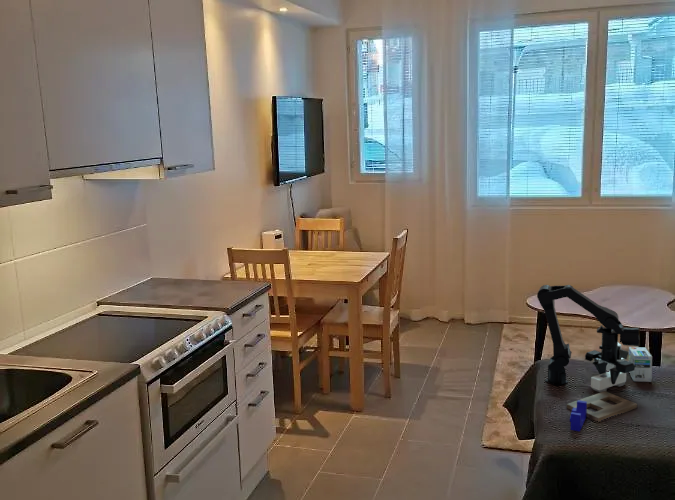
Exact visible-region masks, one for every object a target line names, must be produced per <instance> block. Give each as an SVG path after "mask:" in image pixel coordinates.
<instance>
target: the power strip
mask: <svg viewBox="0 0 675 500" xmlns="http://www.w3.org/2000/svg"><path fill="white" fill-rule="evenodd" d="M626 382H627V373H622V372H620V374H619V375H618V378H617V380H616V382H615V384H612V382H611V375H610V371H609V372H606V373H603V374H597V375H593V376H591V377H590V388H592V390H593V391H595V392H598V393H601V392H604V391H606V392H608V391H607V389H609V388H611V387H613V386H616V387H619V388H620V387H622V386H625V383H626Z"/></svg>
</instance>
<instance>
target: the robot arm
mask: <svg viewBox="0 0 675 500" xmlns="http://www.w3.org/2000/svg"><path fill="white" fill-rule="evenodd" d="M536 296H537V300H538V302H539V304H540V307H541V308H542V309H543V312H544V314H545V317H546V322H547V326H548V330H549V333H550V338H551V341H552V344H553V345H552V346H553V349H552V351H553V353H552V354H553V355H552V356H551V357H550V358H549V361H548V365H547V378H546V379H544V381H545V383H549V384H551V385H553V386H555V387H559V386H561V385H565V384H567V383H569V381H568V380H567V372H566V369H567V368H565V367H567V366H568V365H569V364H570V359H571V357H572V351H571V348H570V343H565V341H564V338H563V335H562V331H561V327H560V323H559V318H558V316H557V311H556V307H555V300H559V299H564V298H567V299H569V300H571V301H572V302H574V303H575V304H577V305H578V306H580V307H581V308H582V309H584V310H585V311H587V312H589V314H591V315H593V316H594V317H595V319H597V321H598V322H599V323H600V324H601V325H600V326H599V327H598V328H597V329H596V333H597V334H601V345H599V347H598V349H599V350H601V351H598V350H596V349H594V350H591V351H587V352H586V353H585V355H584V359H585V361H588V362H592V361H593V362H592V365H594V367H595V368H596V370H597V372H598V375H600V374H603V373H606V366H607V364H608V363H609V364H611V365H614V367H613V368H612V369H610V375H611V382H612V384H615V382H616V380H617V378H618V375H619V374H620V372H622V373H626V374H627V373H629V372H630V371H633V370H635V365H634V364H633V363H631V362H629V360H627V359H628V357H629V350H624V349H623V348H622V349H620V346H618V343H621V345H622V346H628V347H640V328H638V327H624V324H623V323H622V322H621V321H620V319H619V314H618V313H617V312H616V311H614V310H613V309H610V308H608V307H605V306H602V305H600V304H598V303H597V302H595V301H593V300H592V299H591V298H589V297H588V296H586V295H585V294H583V293H582V292H580V291H579V290H577V289H576V288H575V287H574V286H572V285H571V284H565V285H548V284H543V285H541V287H539V289H538V291H537V294H536ZM621 358H624V359H625V361H622V362H618V361H617V360H621Z"/></svg>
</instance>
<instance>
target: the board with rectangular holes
mask: <svg viewBox="0 0 675 500" xmlns="http://www.w3.org/2000/svg"><path fill="white" fill-rule="evenodd" d="M578 400H580V401H586V402H587V417H586V418H587V419H590V420H592V421H595V422H597V421H598V423H600V422H602V421H601V420H603V419H606V418H608V417H611V416H614V415H616V416H618V415H617V414H619V415H622V414H624V413H627V412H630V411H632V410H635V409H637V408H638V404H637V403H636V402H632V401H631V400H628V399H626V398H623V397H621V396H618V395H615V394H613V393H610V392H608V391H604V392H601V393H600V392H598V393H595V394H593V395H590V396H586V397H584V398H581V399H577V400H575V401H572V402H569V403H567V404H566V409H569V410H570V411H572V409H573V407H574V408H577V401H578ZM609 401H610V402H613V403H615V404H612V403H609ZM588 408H592V409H594V410H596V409H597V410H596V411H592V410H590V409H588ZM621 413H622V414H621ZM614 417H615V416H614ZM611 418H612V417H611ZM608 419H609V418H608ZM606 420H607V419H606ZM599 421H600V422H599ZM603 421H604V420H603Z"/></svg>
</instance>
